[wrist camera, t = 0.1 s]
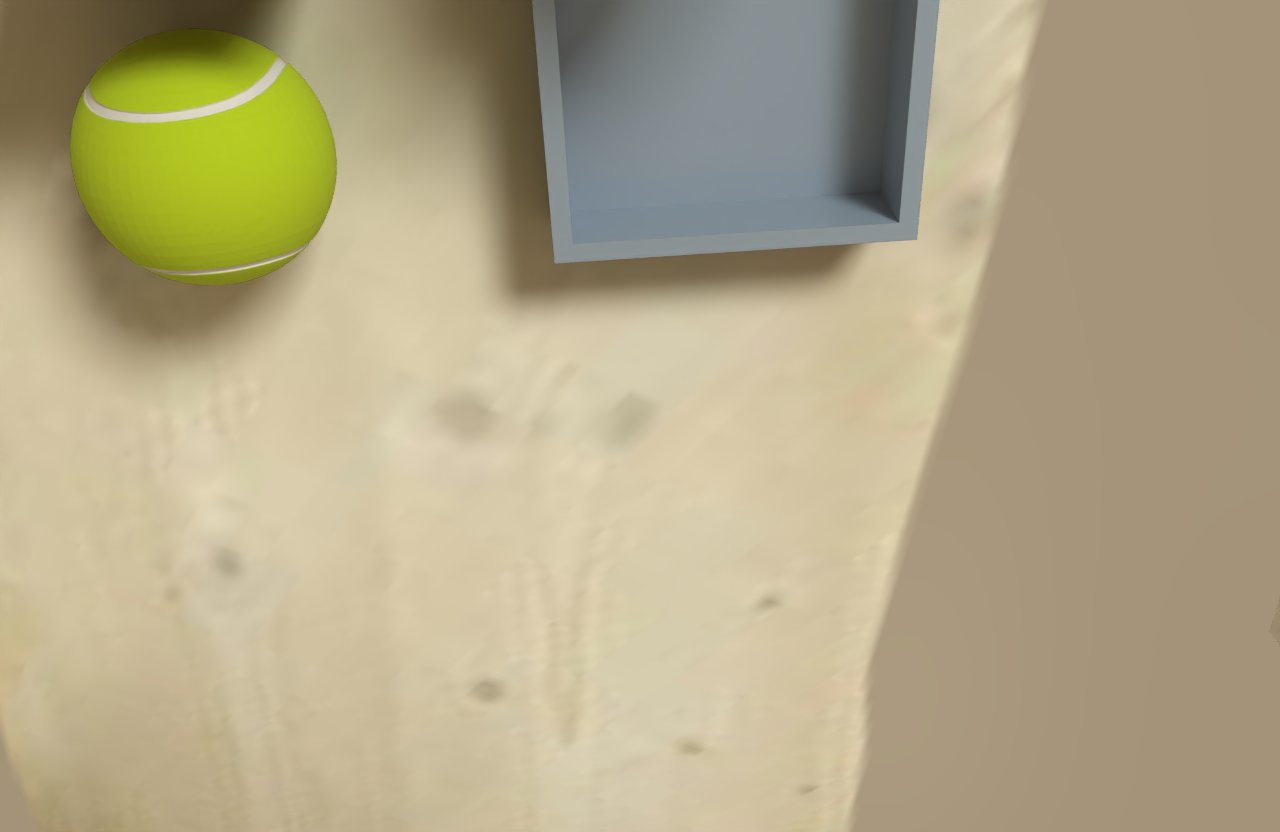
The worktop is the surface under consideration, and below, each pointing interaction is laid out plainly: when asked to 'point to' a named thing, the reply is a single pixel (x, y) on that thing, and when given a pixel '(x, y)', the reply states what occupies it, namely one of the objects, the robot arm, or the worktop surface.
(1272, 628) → the robot arm
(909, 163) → the dish
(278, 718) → the worktop surface
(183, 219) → the tennis ball
